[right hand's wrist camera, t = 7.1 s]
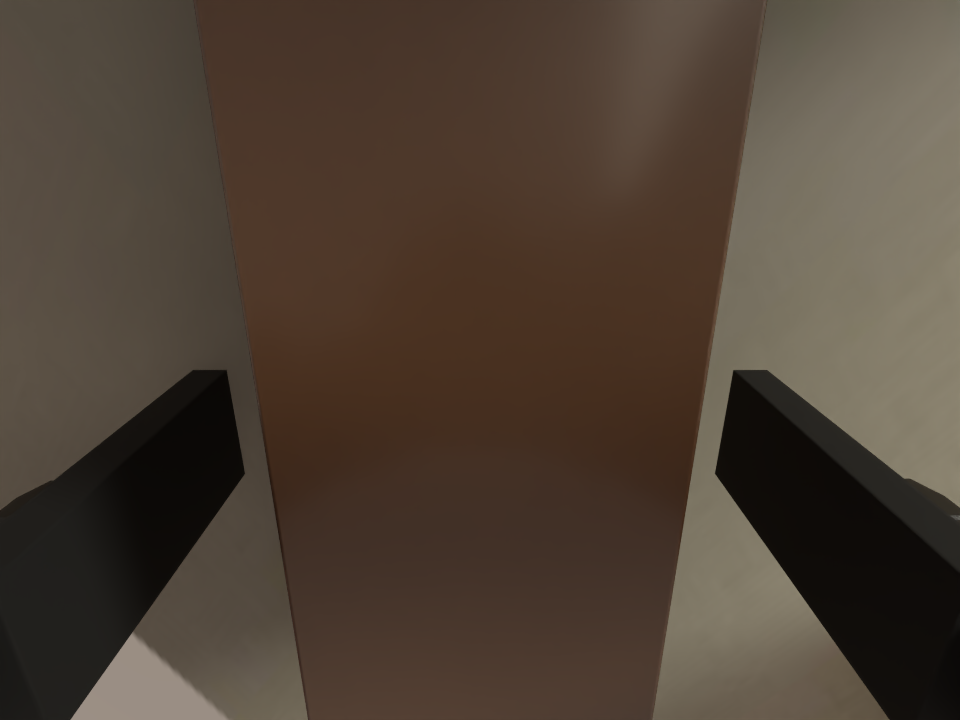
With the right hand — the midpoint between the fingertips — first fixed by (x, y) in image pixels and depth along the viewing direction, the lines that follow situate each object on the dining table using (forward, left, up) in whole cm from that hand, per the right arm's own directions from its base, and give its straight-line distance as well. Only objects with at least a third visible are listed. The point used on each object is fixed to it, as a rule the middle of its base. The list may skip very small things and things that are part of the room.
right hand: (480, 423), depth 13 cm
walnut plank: (-9, 0, -2) cm, 9 cm away
